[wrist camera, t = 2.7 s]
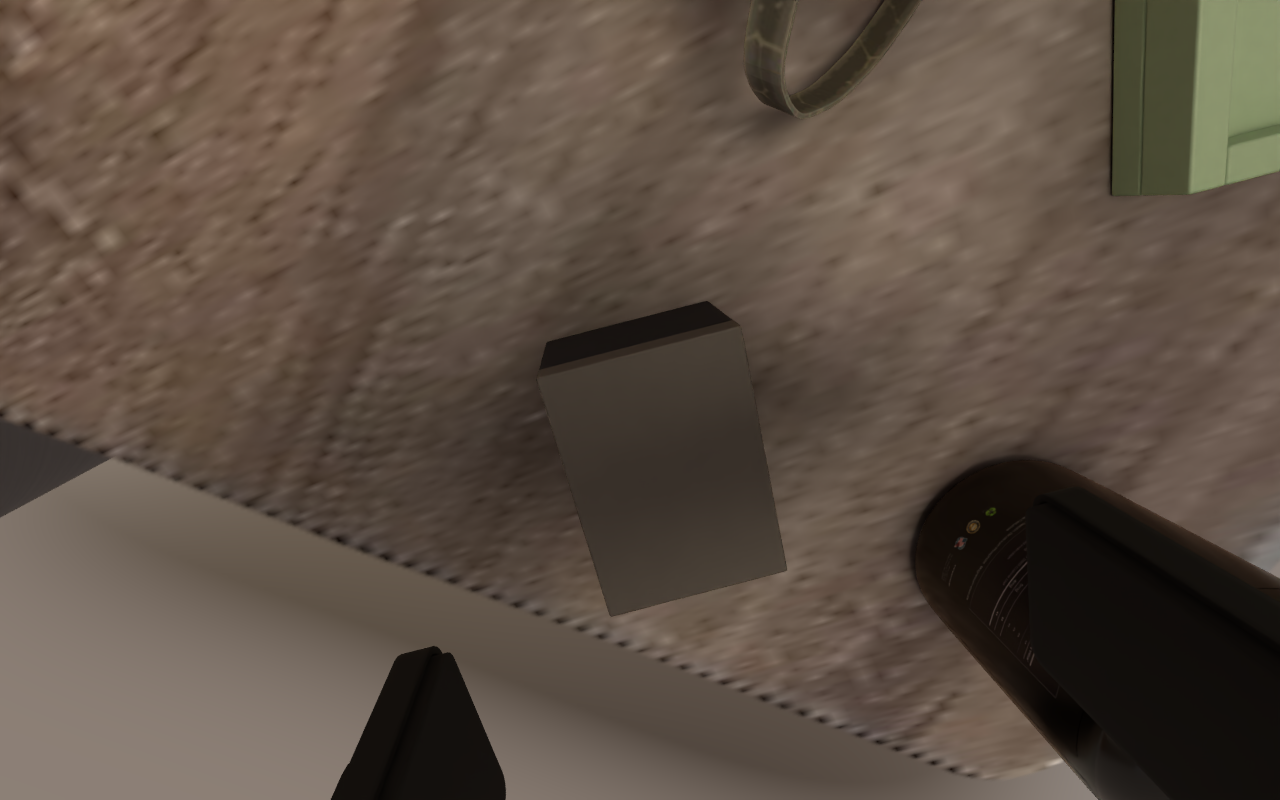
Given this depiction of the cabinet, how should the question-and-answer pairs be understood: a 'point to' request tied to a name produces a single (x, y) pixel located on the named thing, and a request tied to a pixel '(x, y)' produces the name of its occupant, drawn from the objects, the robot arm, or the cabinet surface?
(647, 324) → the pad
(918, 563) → the supplement bottle
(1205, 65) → the rectangular tray
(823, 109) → the binoculars
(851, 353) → the cabinet surface
